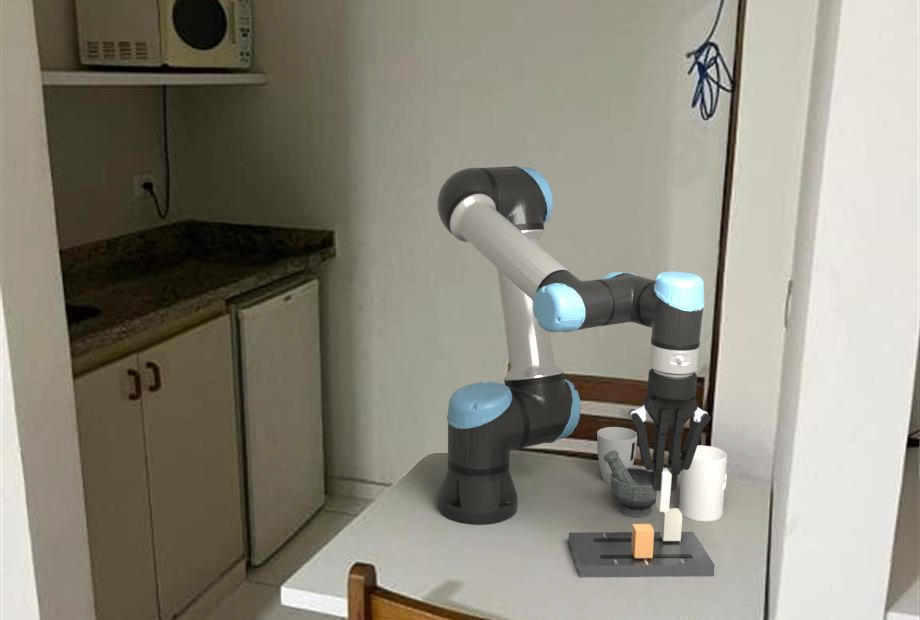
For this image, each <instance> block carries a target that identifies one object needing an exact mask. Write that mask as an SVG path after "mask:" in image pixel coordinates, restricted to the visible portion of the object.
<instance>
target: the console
mask: <svg viewBox="0 0 920 620" xmlns="http://www.w3.org/2000/svg"><path fill="white" fill-rule="evenodd" d="M631 541H632V531H625V532H624V531H609V532H608V531H605V532H603V531H601V532H597V531H596V532H590V531H589V532H588V531H587V532H581V531H580V532H568V546H569V550H570V551H571V555H572V558H573V560H574V565H575V567H576V571H577V572H578V576H579V577H580V578H627V577H628V578H635V577H637V578H640V577H641V578H642V577H646V578H648V577H649V578H650V577H656V578H657V577H714V574H715V563H714V562H713V560H712V559H711V558H710V556H709V554H708V552H707V551H706V549H705V548H704V545H703V544H702V542H701V541H700V540H699V538H698V536H697V535H696V533H695V532H694V531H681V541H663V540H662V538H661V536H660V531H654V543H653V558H634V556H633V554H632V552H631Z"/></svg>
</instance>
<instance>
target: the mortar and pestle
mask: <svg viewBox="0 0 920 620" xmlns="http://www.w3.org/2000/svg"><path fill="white" fill-rule="evenodd" d="M618 456H619V454H618V452H617V451H610V452H608V453H607V454H606V455H605V457H604V459H605V461H606V462H608V464H609V466H610V468H611V471H612V475H611V481H610V492H611V494H612V496H613V498H614V499H615V500H616V501H617V502H618V503H619V505H618V509H617V510H618V512H619V513H620V514H621V515H623V516H625V517H629V518H632V519H644V518H647V517H650V516H651V514H652V506H654V505H656V495H657V491H654V489H653V487H652V470H647V469H646V468H642V467H632V468H625V466H624V464H623V463H622V461H621V460H620V458H619V457H618Z"/></svg>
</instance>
